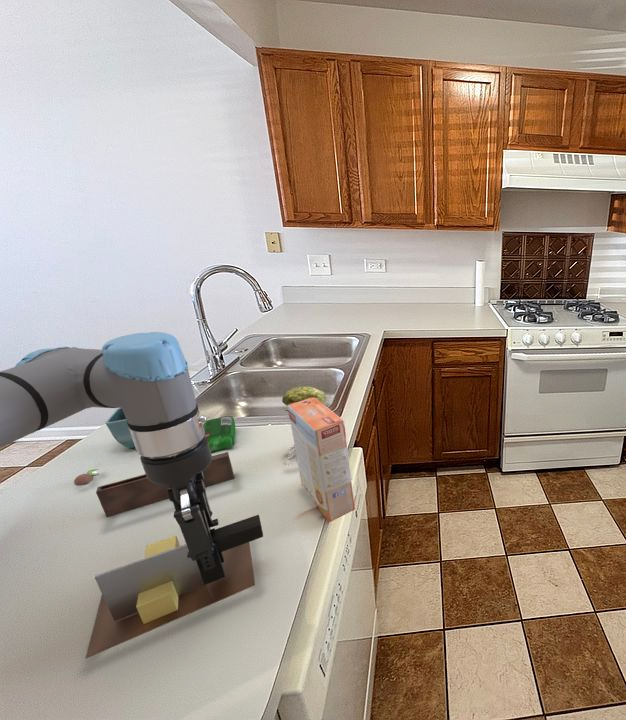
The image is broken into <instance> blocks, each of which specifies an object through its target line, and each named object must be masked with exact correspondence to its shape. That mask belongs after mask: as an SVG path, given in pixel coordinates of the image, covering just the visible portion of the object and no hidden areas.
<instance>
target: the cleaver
mask: <svg viewBox="0 0 626 720" xmlns="http://www.w3.org/2000/svg"><path fill="white" fill-rule="evenodd" d="M210 533H211V536H212V540H213V542H215V543H216V546H217V550H218V553H220V552H223V551H226V550H229V549H231V548H234V547H237V546H239V545H242V544H245V543H248V542H249V543H251V542H253V541H255V540H256V541H257V540H258V539H261V538H263V537H264V532H263V526H262V521H261V518H260V515H259V514H256V515H253V516H250V517H246V518H245V519H242V520H241V519H240V520H239V521H235V522H233V523H230V524H227V525H224V526H221V527H218V528H215V530H212V531H210ZM188 551H189V550H188V547H187V544H186V543H185V544H182V545H180V546H179V547H176V548H173V549H170V550H167V551H164V552H161V553H158V554H156V555H153V556H150V557H147V558H145V557H144V558H142V559H138V560H135V561H133V562H130V563H127V564H123V565H121V566H119V567H115V568H112V569H110V570H106V571H104V572H100V573H97V574H95V575H94V580H95V581H96V584H97V586H98V588H99V591H100V593H101V596H102V595H103V597H104V599H105V602H106V604H107V606H108V608H109V610H110V613H111V615H112V617H113V619H114V621H116V620H119V619H121V618H124V617H126V616H129V615H131V614H134V613H136V612H138V610H137V608H136V606H137V600H138V594H139V593H142V592H144V591H147V590H149V589H152V588H155V587H157V586H160V585H162V584H165V583H167V582H170V581H173V584H174V586H175V589H176V592H177V594H178V596H179V595H182V594H184V593H187V592H189V591H192V590H194V589H197V588H199V587H202V586H204V583H203V580H202V577H201V574H200V571H199V568H198V565H197V562H196V560H195V561H192V559H191V557H190V558H188V557H187V553H188Z"/></svg>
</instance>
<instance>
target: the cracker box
mask: <svg viewBox="0 0 626 720" xmlns="http://www.w3.org/2000/svg"><path fill="white" fill-rule="evenodd" d="M286 407H288V411H287V413H288V417H289V422H290V427H291V432H292V438H293V445H295V451H296V456H297V461H298V462H297V467H298V473H299V478H300V483H301V486H302V488H303V489H304V491H305V492H306V493H307V495H308V496H309V498H311V500H312V501H313V502H314V503H315V505H316V508H317V509H318V510H319V512H320V513H321V515H322V516H323V517H324V518H325V519H326V521H327V522H328V523H331V522H333V521H335V520H337V519H339V518H341V517H344V516H345V515H347V514H349V513H351V512H353V511H355V510H356V506H355V498H354V491H353V483H352V473H351V465H350V459H349V451H348V443H347V442H348V441H347V434H346V425H345V420H344V419H343V418H341V416H339V415H337V413H336V412H334V411H333V410H331V408H329V407H327V406H326V405H325V404H322V403H321V402H320V401H319V400H318V399H316V398H315V397H313V398H308V399H305V400H302V401H299V402H296V403H292V404H289V405H287V406H286Z"/></svg>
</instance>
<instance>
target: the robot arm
mask: <svg viewBox="0 0 626 720" xmlns="http://www.w3.org/2000/svg"><path fill="white" fill-rule="evenodd" d="M90 408H101V409H102V408H104V409H118V408H122V410H123V412H124V415H125V417H126V419H127V424H128V427H129V430H130V433H131V436H132V439H133V442H134V445H135V447H134V448H135V450H136V453H137V455H139V456H140V462H141V465H142V468H143V470H144V474H146V476H147V478H148V480H149V481H151V482H153V483H156V484H168V485H170V489H168V495H169V499H168V500H169V501H170V502H172V505H173V507H174V511H173V518H174V519H175V520H176V523H177V524H178V526H179V529H180V531H181V534H182V536H183V539H184V542H185V544H187V547H188V550H189V551H188V553H187V557H188V558H190V557H191V559H192V561H195V560H196V562H197V565H198V568H199V571H200V574H201V577H202V580H203V583H204V585H207V584H209V583H212V582H214V581H216V580H219V579H221V578H224V577H225V572H224V569H223V566H222V563H223V562H224V558H223V555H222V552H220V553H218V550H217V546H216V543H215V542H213V540H212V536H211V533H210V531H212V530H215V529H216V528H214V527H216V526H219V524H220V523H219V519H218V518H214V519H212V517H213V511H212V510H211V506H210V502H209V499H208V495H207V487H206V488H205V485H204V475H203V472H202V471H203V470H204V469H206V468H207V467H208V466H209V464H210V463H211V461H212V456H213V454H212V452H211V450H210V447H209V443H208V440H207V438H206V437H205V436H204V435H205V431H204V427H203V425H204V423H205V422H206V421H208V417H207V416H206V415H205V414H203V415H202V414H201V415H200V411H199V405H198V403H197V399H196V396H195V391H194V388H193V385H192V380H191V376H190V371H189V364H188V361H187V359H186V358H185V355H184V352H183V350H182V348H181V344H180V342H179V340H178V338H177V337H176V336H174V335H173V334H171V333H167V332H163V331H150V332H136V333H131V334H126V335H122V336H118V337H115V338H112V339H110V340H108V341H107V342H105V343H104V344H103V345H102V347H101V349H95V348H82V347H76V346H73V347H70V346H61V347H59V346H58V347H51V348H50V347H49V348H41V349H37V350H33V351H31V352H29V353H27V354H26V355H24V357H23V358H21V359H20V361H18V362H17V363H16V364H15V366H13V367H10V368H7V369H3V370H1V371H0V449H1V448H3V447H6V446H7V445H10V444H12V443H13V442H16V441H19V440H20V439H23V438H25V437H27V436H29V435H31V434H34V433H35V432H38V431H41V430H44V429H45V428H47V427H49V426H52V425H54V424H56V423H58V422H60V421H64V419H67V418H69V417H72V416H73V415H75V414H78V413H80V412H83V411H84V410H87V409H90Z"/></svg>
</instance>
